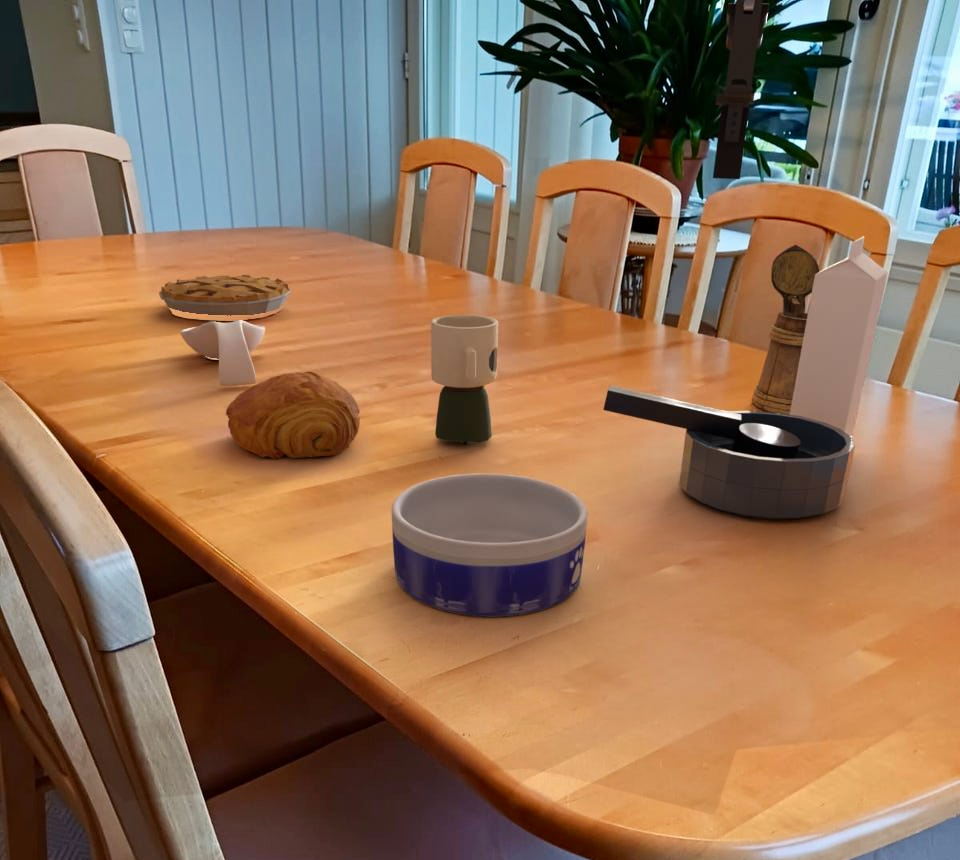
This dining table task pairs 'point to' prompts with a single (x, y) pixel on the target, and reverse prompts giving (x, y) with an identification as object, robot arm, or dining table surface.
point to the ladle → (704, 422)
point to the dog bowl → (488, 543)
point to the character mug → (464, 375)
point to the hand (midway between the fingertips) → (726, 174)
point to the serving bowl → (770, 470)
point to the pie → (225, 295)
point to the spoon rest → (227, 348)
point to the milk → (839, 340)
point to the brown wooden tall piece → (786, 330)
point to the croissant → (294, 417)
